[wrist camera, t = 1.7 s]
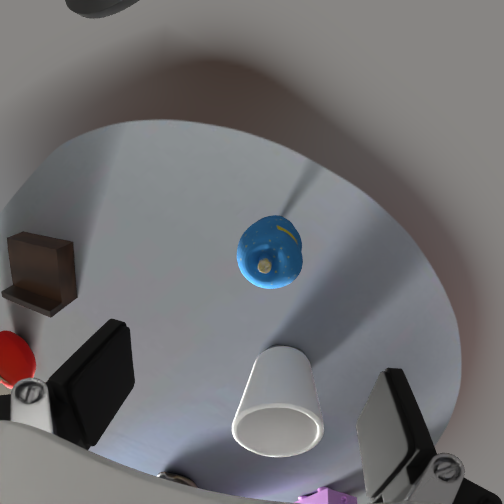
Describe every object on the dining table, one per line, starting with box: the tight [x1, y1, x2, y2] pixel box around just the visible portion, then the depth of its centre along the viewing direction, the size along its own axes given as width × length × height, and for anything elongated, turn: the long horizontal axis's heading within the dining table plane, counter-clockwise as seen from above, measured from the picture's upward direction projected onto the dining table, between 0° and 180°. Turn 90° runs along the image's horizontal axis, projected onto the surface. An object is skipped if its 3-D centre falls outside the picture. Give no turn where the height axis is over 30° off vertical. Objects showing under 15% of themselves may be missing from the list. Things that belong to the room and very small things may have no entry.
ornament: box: [237, 215, 303, 289], centre depth 27 cm, size 5×5×15 cm
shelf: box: [2, 232, 77, 317], centre depth 37 cm, size 9×12×7 cm
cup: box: [232, 345, 324, 457], centre depth 34 cm, size 10×10×13 cm
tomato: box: [0, 331, 36, 389], centre depth 42 cm, size 12×12×11 cm
